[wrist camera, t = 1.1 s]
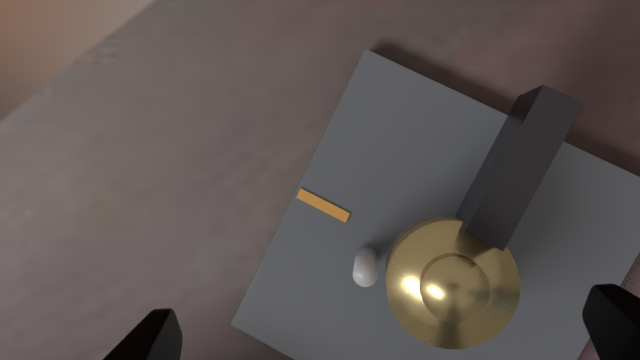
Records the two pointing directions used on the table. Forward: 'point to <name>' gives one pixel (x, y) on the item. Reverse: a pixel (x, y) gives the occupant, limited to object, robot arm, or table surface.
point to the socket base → (422, 202)
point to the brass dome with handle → (478, 234)
